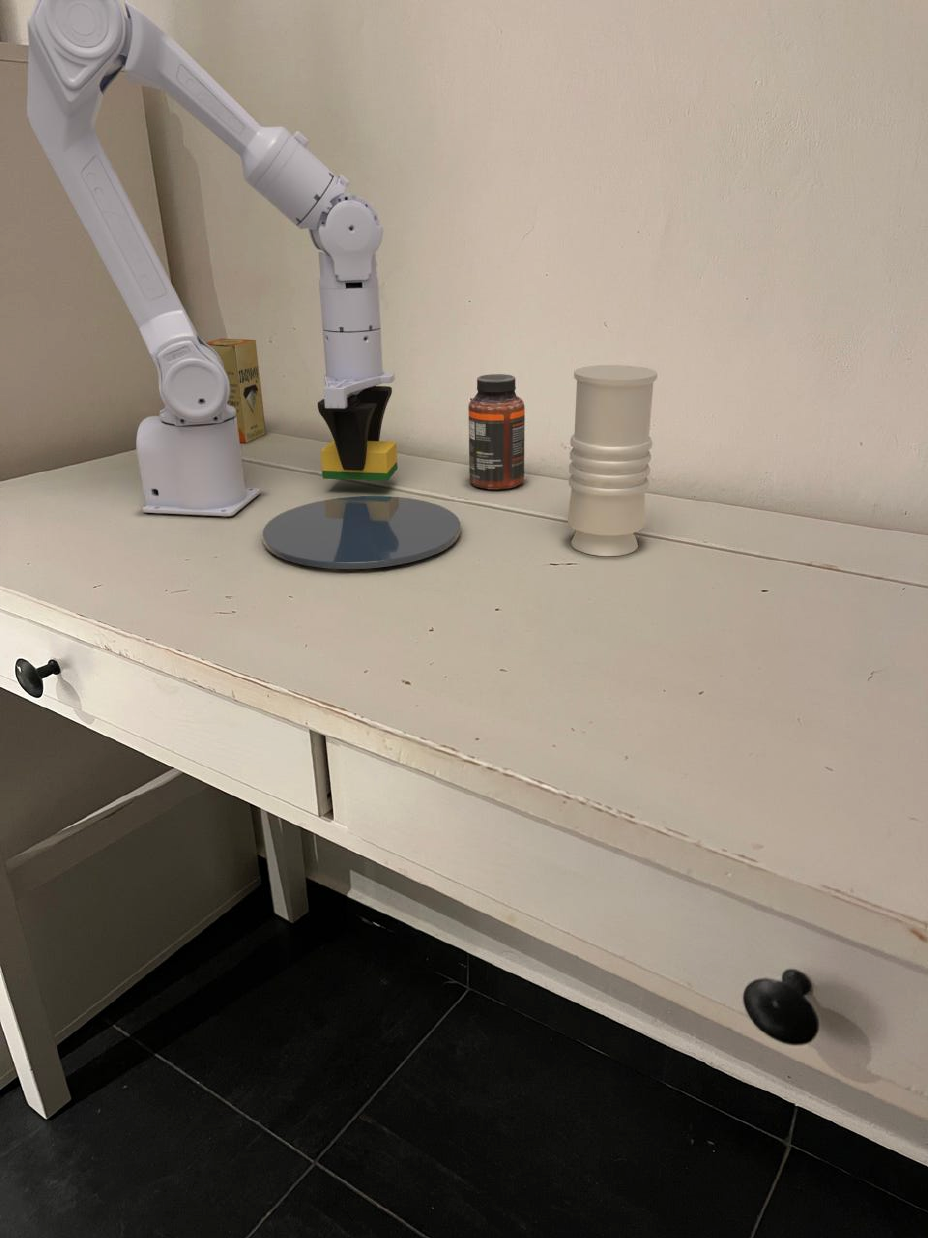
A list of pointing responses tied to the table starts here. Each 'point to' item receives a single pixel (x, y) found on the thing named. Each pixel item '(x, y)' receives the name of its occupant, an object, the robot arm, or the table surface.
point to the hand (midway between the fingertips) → (360, 463)
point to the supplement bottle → (496, 434)
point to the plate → (361, 532)
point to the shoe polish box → (243, 385)
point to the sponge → (376, 466)
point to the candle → (610, 457)
